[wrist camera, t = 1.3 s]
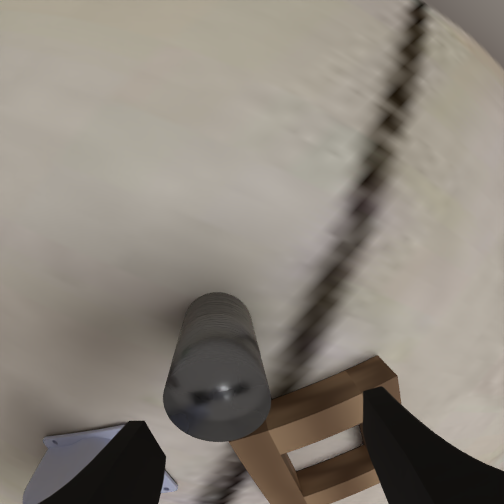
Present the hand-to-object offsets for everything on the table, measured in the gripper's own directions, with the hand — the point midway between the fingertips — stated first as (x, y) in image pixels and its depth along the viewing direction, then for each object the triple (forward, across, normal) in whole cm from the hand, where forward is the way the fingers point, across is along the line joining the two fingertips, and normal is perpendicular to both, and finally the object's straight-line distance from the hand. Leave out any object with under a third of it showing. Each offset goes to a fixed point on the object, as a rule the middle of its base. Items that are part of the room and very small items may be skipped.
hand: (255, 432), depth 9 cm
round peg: (+10, +2, +1) cm, 10 cm away
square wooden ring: (+9, -3, +12) cm, 15 cm away
